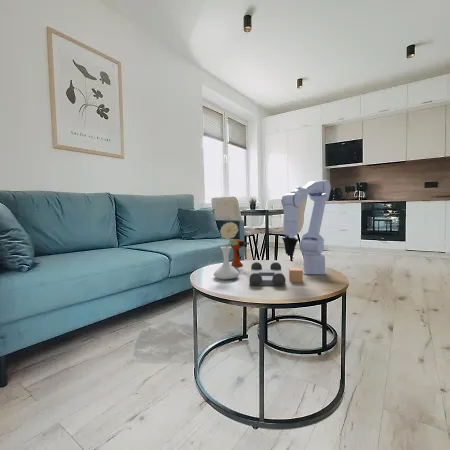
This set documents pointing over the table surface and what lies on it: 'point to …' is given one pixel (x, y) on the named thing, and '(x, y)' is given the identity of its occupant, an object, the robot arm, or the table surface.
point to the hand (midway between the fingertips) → (289, 254)
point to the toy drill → (237, 253)
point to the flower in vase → (227, 253)
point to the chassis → (266, 275)
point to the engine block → (295, 275)
